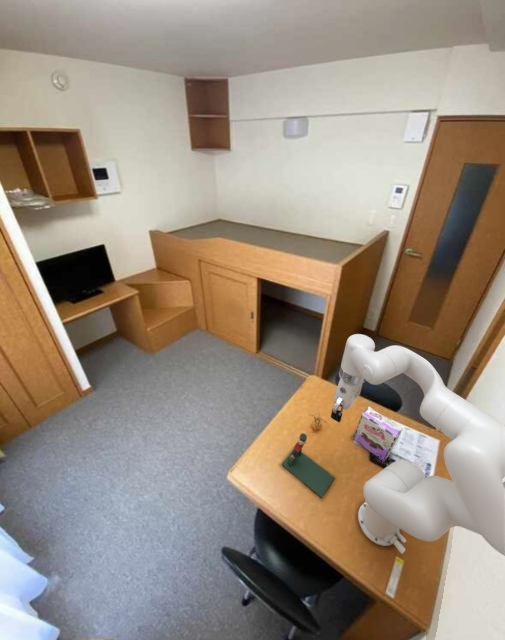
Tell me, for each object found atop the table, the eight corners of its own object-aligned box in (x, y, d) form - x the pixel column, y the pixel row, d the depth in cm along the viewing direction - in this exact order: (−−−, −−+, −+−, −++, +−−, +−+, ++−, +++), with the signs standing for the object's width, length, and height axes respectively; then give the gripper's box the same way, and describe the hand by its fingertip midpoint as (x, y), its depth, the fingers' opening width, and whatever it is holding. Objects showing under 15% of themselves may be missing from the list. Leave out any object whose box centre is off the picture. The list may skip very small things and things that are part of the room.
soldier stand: (334, 479, 103) (336, 471, 100) (321, 498, 98) (323, 490, 95) (295, 448, 113) (296, 440, 110) (281, 465, 108) (282, 456, 105)
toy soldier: (310, 435, 98) (303, 429, 100) (304, 443, 96) (296, 437, 97) (300, 454, 107) (294, 448, 109) (294, 462, 105) (288, 456, 106)
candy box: (352, 438, 117) (361, 413, 108) (359, 430, 121) (369, 405, 111) (383, 462, 109) (396, 437, 100) (390, 453, 112) (403, 428, 103)
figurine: (326, 428, 121) (331, 410, 115) (322, 439, 117) (326, 421, 110) (308, 419, 125) (312, 401, 118) (303, 430, 120) (307, 412, 114)
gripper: (351, 395, 76) (340, 434, 85) (376, 363, 87) (364, 400, 96) (327, 382, 80) (318, 420, 89) (353, 353, 91) (343, 389, 100)
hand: (342, 410), depth 93 cm, fingers open, 9 cm apart
